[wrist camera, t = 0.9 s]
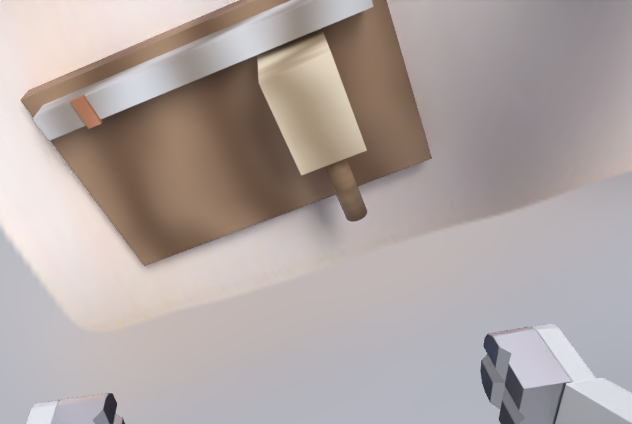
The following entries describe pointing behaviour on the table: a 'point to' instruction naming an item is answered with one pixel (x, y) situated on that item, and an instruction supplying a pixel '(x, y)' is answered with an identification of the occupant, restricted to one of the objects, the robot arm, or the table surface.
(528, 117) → the table surface
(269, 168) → the walnut board
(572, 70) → the table surface
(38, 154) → the table surface
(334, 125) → the wooden mallet
